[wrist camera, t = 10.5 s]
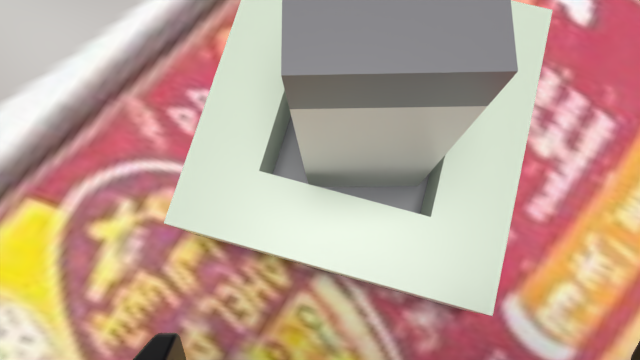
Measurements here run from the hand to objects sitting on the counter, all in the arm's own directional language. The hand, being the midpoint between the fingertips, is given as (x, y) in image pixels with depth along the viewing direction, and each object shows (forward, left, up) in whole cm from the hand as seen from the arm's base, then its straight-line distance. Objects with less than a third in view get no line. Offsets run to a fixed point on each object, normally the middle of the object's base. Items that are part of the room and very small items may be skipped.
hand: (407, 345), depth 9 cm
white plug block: (+8, +2, -12) cm, 14 cm away
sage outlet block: (+8, +2, -13) cm, 15 cm away
